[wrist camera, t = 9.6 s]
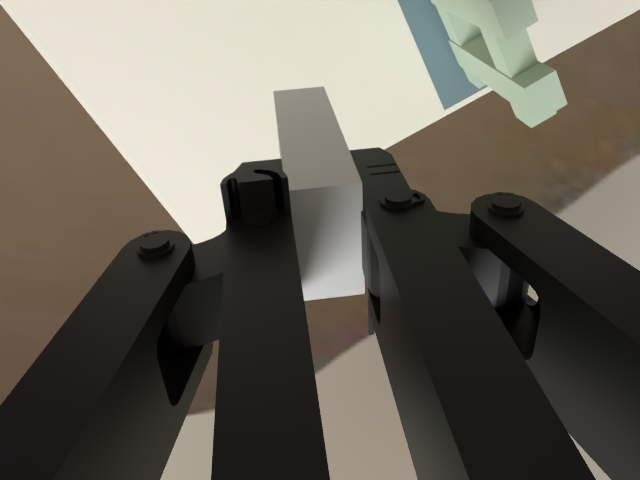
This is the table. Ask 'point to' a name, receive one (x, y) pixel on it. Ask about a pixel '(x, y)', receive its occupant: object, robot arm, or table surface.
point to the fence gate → (502, 54)
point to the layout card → (261, 76)
